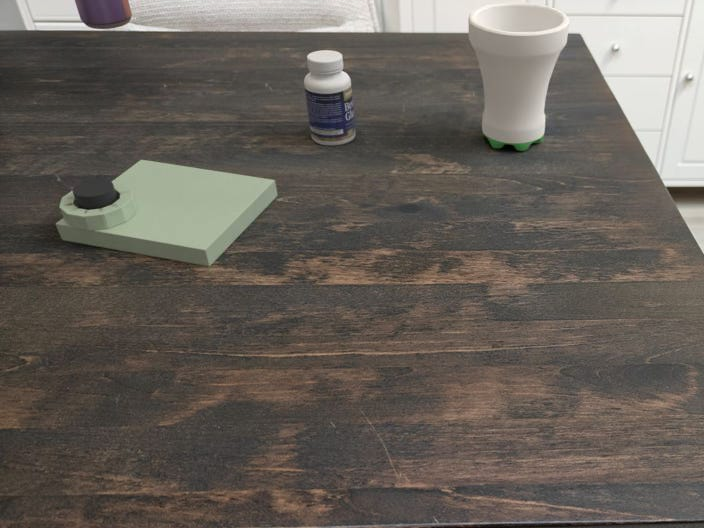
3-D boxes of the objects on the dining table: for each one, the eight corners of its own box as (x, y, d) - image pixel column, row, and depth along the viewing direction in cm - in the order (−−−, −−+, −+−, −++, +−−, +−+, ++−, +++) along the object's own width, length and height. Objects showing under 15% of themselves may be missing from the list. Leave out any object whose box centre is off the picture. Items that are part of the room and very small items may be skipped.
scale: (58, 241, 72) (44, 209, 70) (144, 174, 83) (134, 145, 80) (208, 268, 69) (199, 236, 67) (277, 196, 80) (272, 165, 77)
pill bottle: (357, 145, 89) (349, 63, 82) (311, 148, 88) (299, 65, 82) (355, 126, 93) (347, 46, 86) (311, 129, 92) (300, 48, 86)
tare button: (69, 208, 71) (63, 193, 70) (93, 190, 74) (88, 175, 72) (102, 213, 70) (97, 198, 69) (125, 195, 73) (120, 181, 72)
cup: (477, 115, 96) (479, -2, 87) (563, 124, 94) (574, 6, 85) (458, 154, 88) (458, 29, 78) (551, 164, 86) (562, 38, 77)
